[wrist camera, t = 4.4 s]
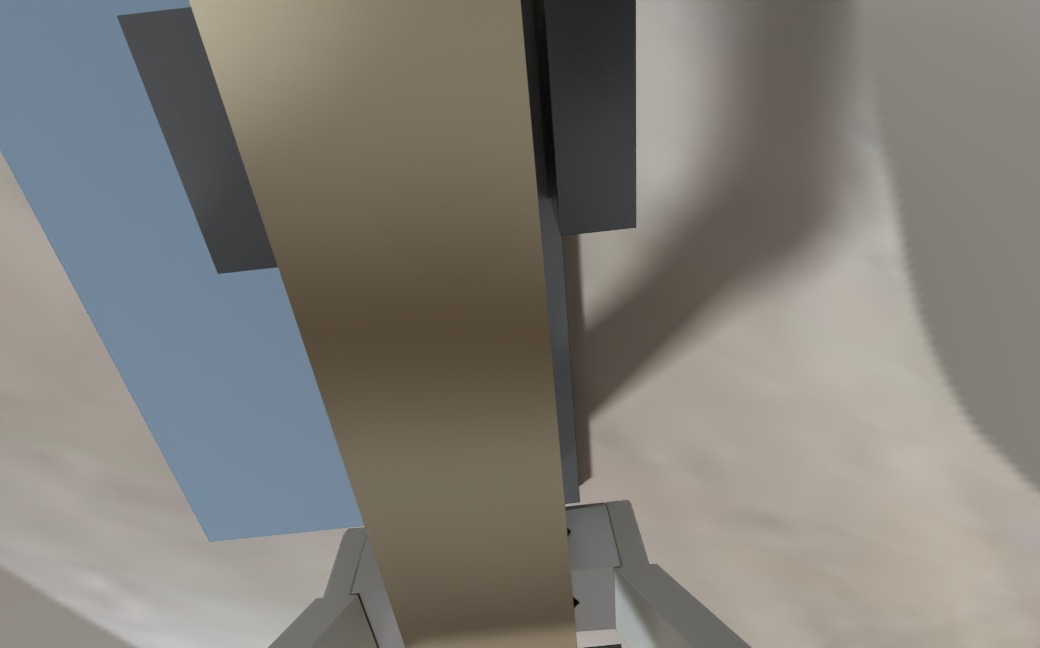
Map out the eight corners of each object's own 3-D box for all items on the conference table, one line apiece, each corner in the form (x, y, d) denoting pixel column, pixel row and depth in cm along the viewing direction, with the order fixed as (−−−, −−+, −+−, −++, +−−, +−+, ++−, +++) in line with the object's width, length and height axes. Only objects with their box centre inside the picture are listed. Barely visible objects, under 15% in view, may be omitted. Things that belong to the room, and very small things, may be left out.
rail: (275, -75, 7) (138, -151, 4) (500, -102, 7) (503, -198, 4) (489, 764, 17) (488, 896, 14) (582, 754, 17) (598, 886, 14)
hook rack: (361, -42, 18) (-38, -316, 5) (538, -63, 18) (658, -404, 4) (469, 500, 29) (446, 873, 16) (577, 488, 29) (644, 854, 16)
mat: (-68, -9, 18) (-86, -11, 17) (195, -41, 18) (185, -44, 17) (214, 533, 30) (209, 541, 29) (373, 516, 30) (371, 525, 29)
